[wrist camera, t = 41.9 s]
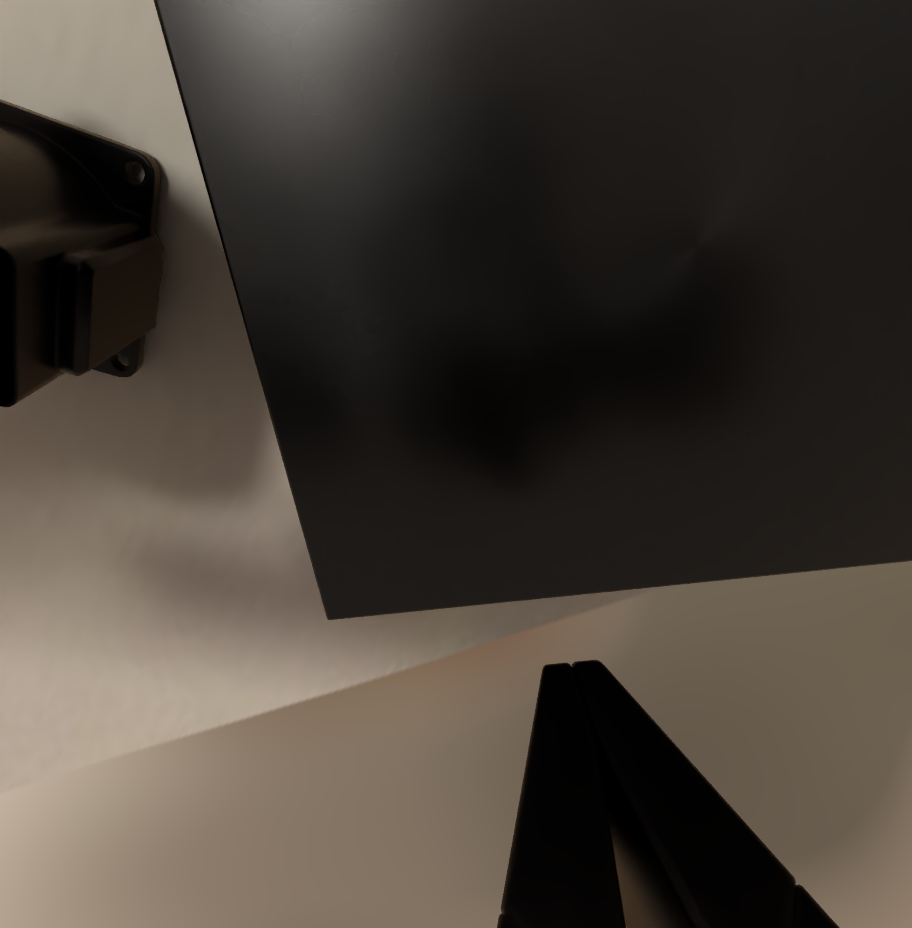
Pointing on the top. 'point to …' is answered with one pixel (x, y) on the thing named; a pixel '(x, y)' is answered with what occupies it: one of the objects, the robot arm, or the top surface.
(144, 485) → the top surface
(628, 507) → the small drawer cabinet
